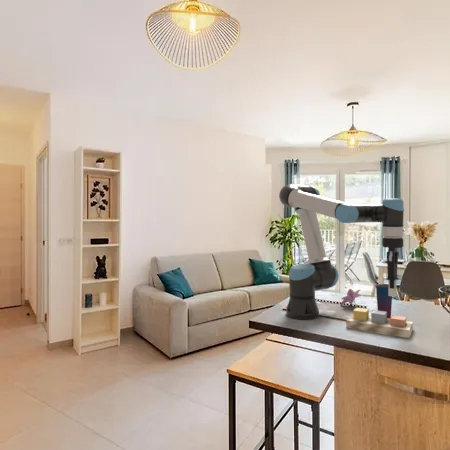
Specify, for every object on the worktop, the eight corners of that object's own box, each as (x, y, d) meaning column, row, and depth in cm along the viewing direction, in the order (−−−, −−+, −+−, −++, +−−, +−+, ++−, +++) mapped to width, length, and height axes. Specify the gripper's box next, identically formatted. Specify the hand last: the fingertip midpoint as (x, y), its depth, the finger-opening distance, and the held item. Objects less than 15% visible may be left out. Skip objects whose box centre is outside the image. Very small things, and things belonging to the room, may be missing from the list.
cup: (395, 321, 143) (394, 287, 143) (378, 321, 144) (378, 287, 144) (390, 317, 150) (390, 284, 149) (374, 316, 151) (374, 283, 151)
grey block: (371, 322, 134) (371, 312, 134) (373, 319, 138) (373, 310, 138) (384, 324, 131) (384, 314, 131) (386, 321, 135) (386, 311, 135)
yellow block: (353, 319, 138) (353, 310, 138) (356, 316, 142) (356, 307, 142) (366, 321, 135) (366, 312, 135) (368, 318, 139) (368, 309, 139)
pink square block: (390, 328, 130) (390, 318, 130) (392, 324, 134) (392, 315, 134) (404, 330, 127) (404, 320, 127) (406, 326, 131) (406, 317, 131)
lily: (365, 306, 171) (357, 289, 175) (370, 303, 160) (361, 284, 164) (343, 314, 172) (335, 296, 176) (346, 311, 161) (338, 292, 165)
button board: (346, 327, 137) (346, 320, 136) (353, 319, 146) (353, 313, 146) (409, 338, 123) (409, 330, 123) (412, 329, 133) (412, 321, 133)
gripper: (401, 238, 124) (400, 300, 124) (405, 236, 134) (404, 293, 135) (379, 238, 128) (379, 298, 129) (385, 236, 139) (384, 291, 139)
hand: (392, 295), depth 132 cm, fingers closed
